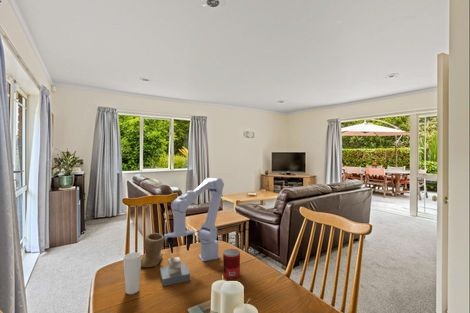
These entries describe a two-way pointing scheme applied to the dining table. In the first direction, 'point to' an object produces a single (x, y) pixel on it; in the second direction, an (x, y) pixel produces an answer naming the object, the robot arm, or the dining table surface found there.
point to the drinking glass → (132, 272)
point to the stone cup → (152, 250)
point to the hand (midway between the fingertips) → (180, 251)
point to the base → (174, 275)
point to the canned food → (231, 263)
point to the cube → (174, 265)
